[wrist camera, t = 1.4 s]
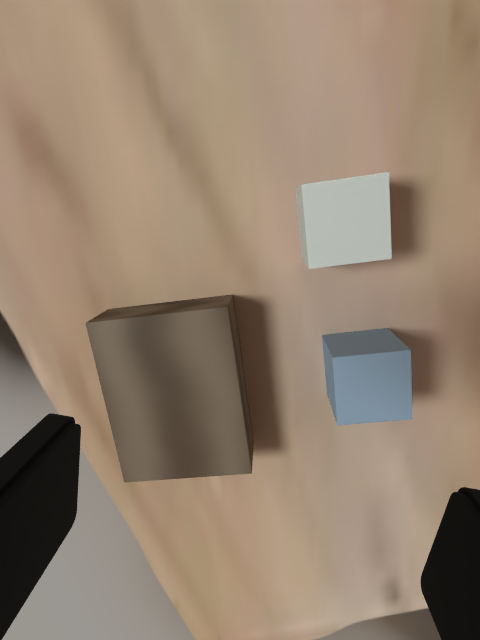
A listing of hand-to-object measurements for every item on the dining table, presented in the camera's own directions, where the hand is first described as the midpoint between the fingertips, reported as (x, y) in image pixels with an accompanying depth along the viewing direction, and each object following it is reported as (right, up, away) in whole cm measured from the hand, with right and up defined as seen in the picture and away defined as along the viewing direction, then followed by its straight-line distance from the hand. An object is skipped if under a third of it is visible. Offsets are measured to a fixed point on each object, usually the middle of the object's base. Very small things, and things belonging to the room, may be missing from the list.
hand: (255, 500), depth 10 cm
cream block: (+6, +12, +18) cm, 23 cm away
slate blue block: (+9, +1, +21) cm, 23 cm away
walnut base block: (-5, 0, +22) cm, 23 cm away
